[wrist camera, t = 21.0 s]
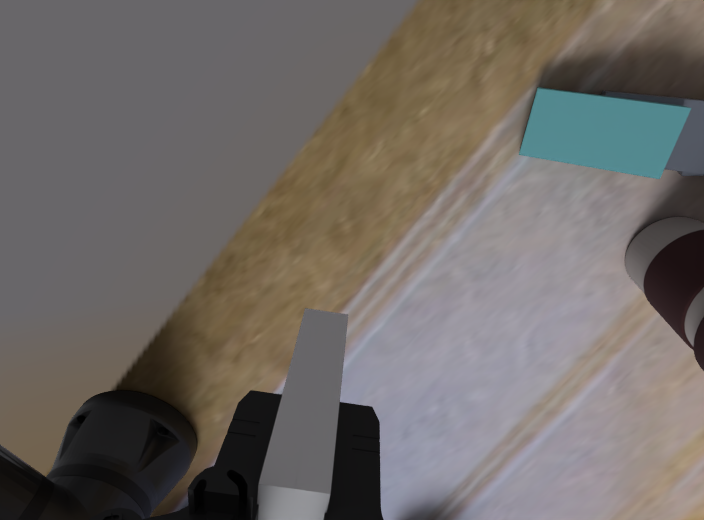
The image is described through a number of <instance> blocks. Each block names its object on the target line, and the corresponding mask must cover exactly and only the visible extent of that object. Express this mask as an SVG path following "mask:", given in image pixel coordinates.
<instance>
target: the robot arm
mask: <svg viewBox="0 0 704 520" xmlns="http://www.w3.org/2000/svg"><path fill="white" fill-rule="evenodd" d="M347 322H348V315H347V314H340V313H334V312H327V311H320V310H314V309H307V308H305V312H304V315H303V319H302V323H301V327H300V330H299V334H298V338H297V342H296V345H295V349H294V353H293V357H292V360H291V364H290V368H289V372H288V375H287V379H286V383H285V387H284V390H283V394H282V395H280V394H273V393H267V392H260V391H253V390H251V391H250V392H249V393H248V394H247V395H246V396H245V397H244V398H243V399H242V400H241V401H240V402H239V403H238V405H237V408H236V411H235V413H234V416H233V419H232V422H231V424H230V426H229V429H228V432H227V435H226V437H225V439H224V442H223V444H222V447H221V450H220V452H219V455H218V457H217V460H216V463H215V465H214V466H212V467H210V468H207V469H205V470H204V471H203V472H201V473H200V474H199V475H197V476H196V477H195V478H194V480H193V481H192V483H191V484H190V486H189V487H188V502H189V506H187V507H185V508H183V509H181V510H180V511H177V512H174V513H170V514H166V515H161V516H156V517H151V518H149V517H150V515H151V513H152V512H153V510H154V509H155V508H156V507H157V505H158V504H159V503H160V502H161V501H162V500H163V499H164V498H165V497H166V495H167V494H168V493H169V492H170V491H171V490H172V489H173V488H174V486H175V485H176V484H177V483H178V482H179V481H180V480H181V479H182V477H183V476H184V475H185V474H186V472H187V471H188V469H189V467H190V465H191V462H192V460H193V458H194V456H195V453H196V449H197V440H196V436H195V433H194V431H193V429H192V427H191V425H190V424H189V423H188V421H187V420H186V419H185V418H184V417H183V416H182V415H181V414H180V413H179V412H178V411H177V410H175V409H174V408H173V407H171V406H170V405H168V404H167V403H165V402H163V401H161V400H159V399H157V398H154V397H152V396H149V395H146V394H142V393H138V392H132V391H108V392H104V393H100V394H98V395H95V396H93V397H91V398H90V399H88V400H87V401H86V402H85V403H84V404H83V405H82V406H81V407H80V409H79V410H78V411H77V412H76V414H75V415H74V416H73V417H72V419H71V421H70V422H69V424H68V427H67V429H66V432H65V435H64V437H63V440H62V443H61V446H60V449H59V451H58V454H57V457H56V459H55V462H54V465H53V467H52V469H51V471H50V472H49V474H48V475H47V476H46V477H45V476H43V475H42V474H41V473H40V472H38V471H37V470H35V469H34V468H32V467H31V466H30V465H28V464H27V463H25V462H24V461H23V460H21V459H20V458H18V457H17V456H16V455H14V454H13V453H11V452H10V451H8V450H7V449H6V448H4V447H2V446H1V445H0V520H383V517H382V513H381V499H380V442H379V440H380V424H379V420H378V418H377V416H376V414H375V412H374V410H373V407H370V406H363V405H356V404H349V403H343V402H340V393H341V383H342V372H343V362H344V352H345V342H346V332H347Z"/></svg>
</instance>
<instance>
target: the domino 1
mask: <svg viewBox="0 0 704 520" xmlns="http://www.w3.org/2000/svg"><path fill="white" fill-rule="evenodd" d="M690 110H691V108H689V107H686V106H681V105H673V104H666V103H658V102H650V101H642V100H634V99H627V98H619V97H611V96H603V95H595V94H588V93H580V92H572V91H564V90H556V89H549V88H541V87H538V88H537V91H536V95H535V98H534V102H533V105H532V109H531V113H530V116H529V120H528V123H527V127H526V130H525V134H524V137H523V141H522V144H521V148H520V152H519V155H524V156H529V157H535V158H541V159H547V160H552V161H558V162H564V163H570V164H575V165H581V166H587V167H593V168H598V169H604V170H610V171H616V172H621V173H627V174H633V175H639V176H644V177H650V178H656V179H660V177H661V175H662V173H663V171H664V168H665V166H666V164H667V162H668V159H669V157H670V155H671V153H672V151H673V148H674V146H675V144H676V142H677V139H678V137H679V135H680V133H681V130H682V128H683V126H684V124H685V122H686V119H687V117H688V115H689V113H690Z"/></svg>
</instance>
